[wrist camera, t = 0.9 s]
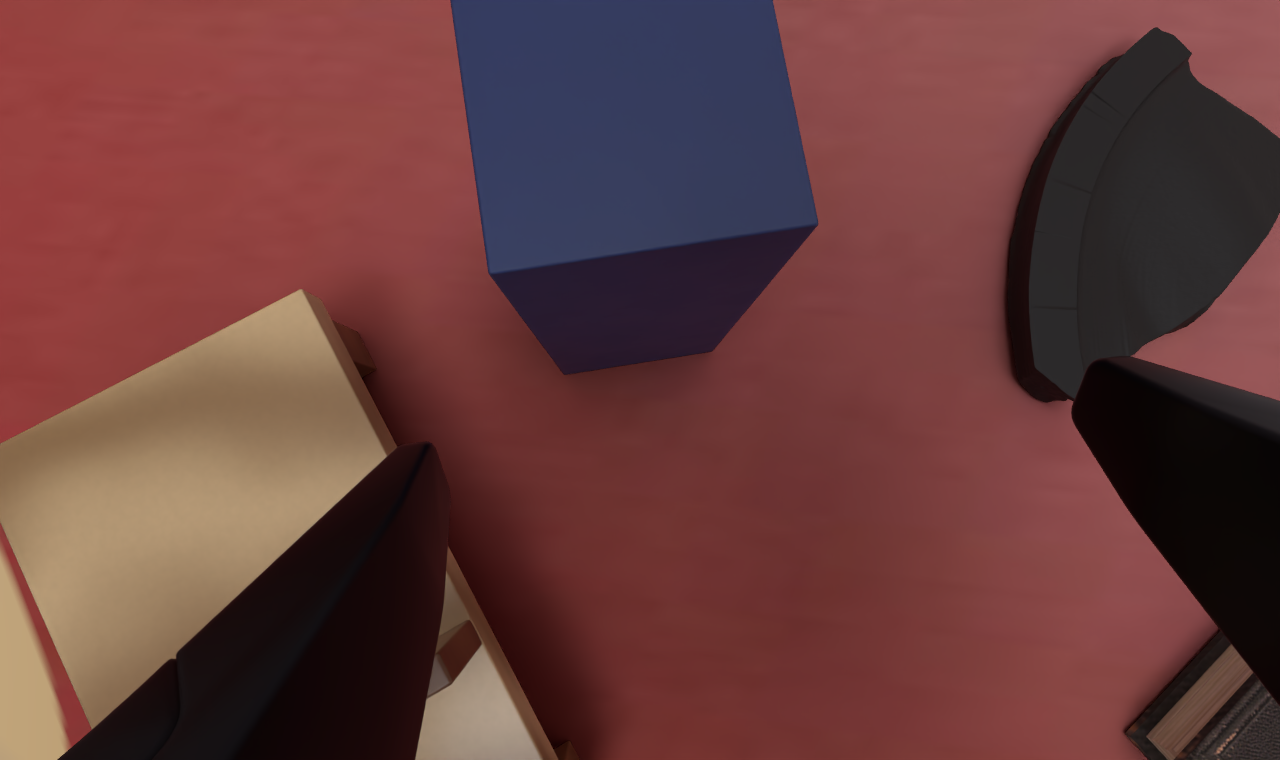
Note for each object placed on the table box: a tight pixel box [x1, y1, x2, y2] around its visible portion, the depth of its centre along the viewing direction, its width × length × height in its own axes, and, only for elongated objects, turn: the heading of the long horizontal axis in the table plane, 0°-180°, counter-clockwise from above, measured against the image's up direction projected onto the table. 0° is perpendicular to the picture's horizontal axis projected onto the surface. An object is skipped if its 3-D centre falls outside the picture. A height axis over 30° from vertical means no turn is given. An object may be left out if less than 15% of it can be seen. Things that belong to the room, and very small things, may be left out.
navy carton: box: [450, 0, 818, 375], centre depth 17 cm, size 5×6×12 cm
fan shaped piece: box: [1008, 27, 1280, 402], centre depth 23 cm, size 8×14×2 cm, turn 140°
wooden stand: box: [0, 289, 580, 760], centre depth 17 cm, size 18×10×8 cm, turn 29°
